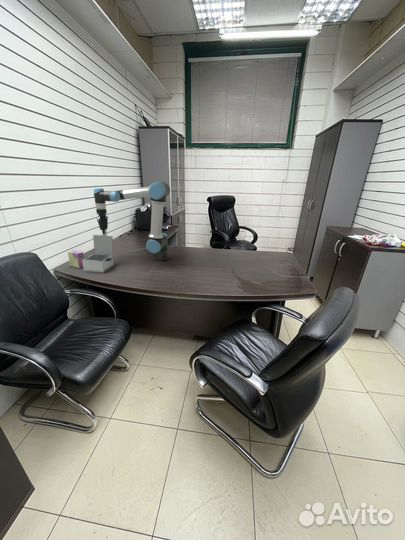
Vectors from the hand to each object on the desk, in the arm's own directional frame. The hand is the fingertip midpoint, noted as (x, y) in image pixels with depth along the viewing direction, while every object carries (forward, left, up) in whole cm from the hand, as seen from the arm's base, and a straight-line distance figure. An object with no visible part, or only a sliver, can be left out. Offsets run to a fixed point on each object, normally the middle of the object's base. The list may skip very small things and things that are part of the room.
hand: (105, 237), depth 184 cm
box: (+15, +19, -20) cm, 31 cm away
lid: (-4, +11, -3) cm, 12 cm away
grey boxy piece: (-4, +20, -19) cm, 28 cm away
